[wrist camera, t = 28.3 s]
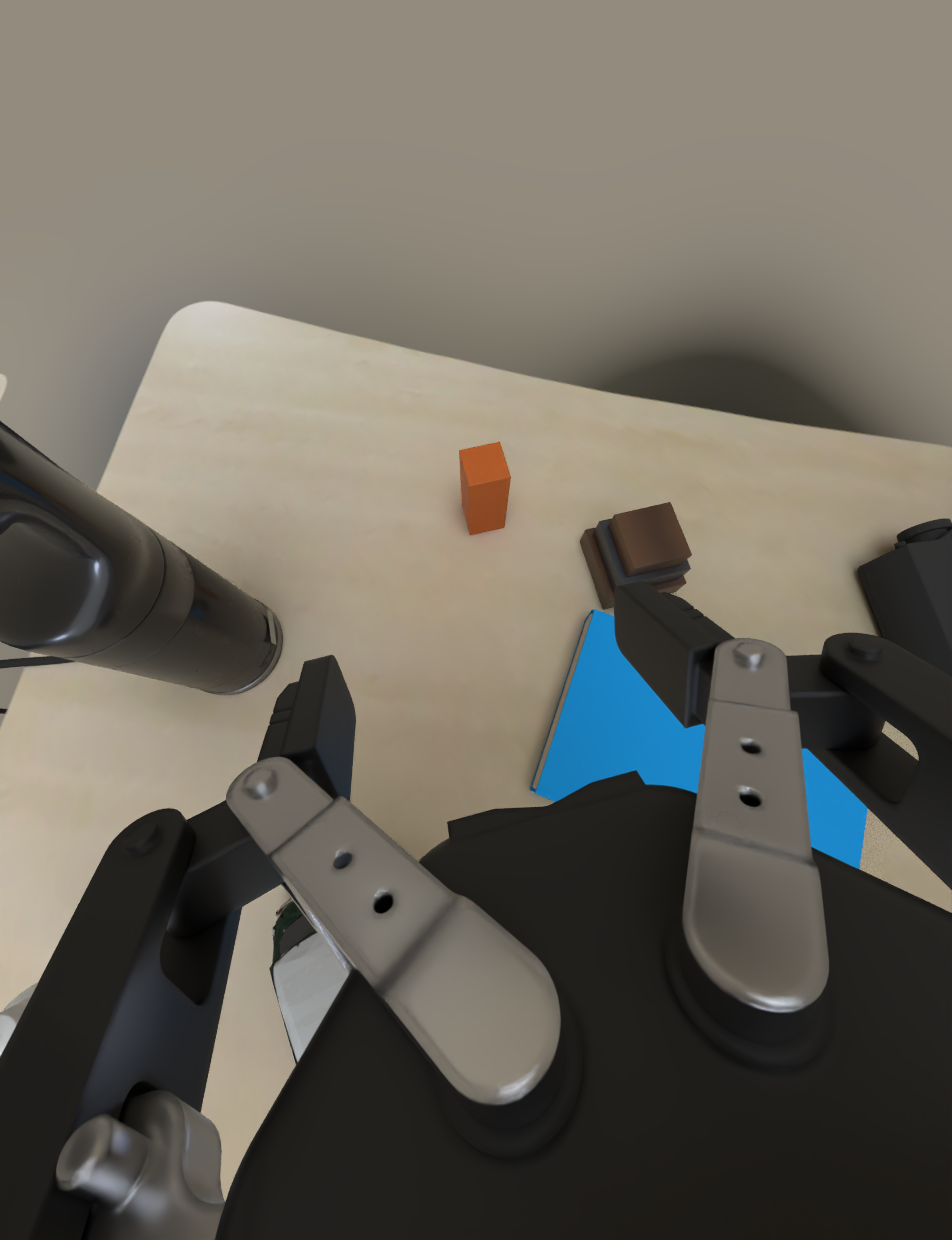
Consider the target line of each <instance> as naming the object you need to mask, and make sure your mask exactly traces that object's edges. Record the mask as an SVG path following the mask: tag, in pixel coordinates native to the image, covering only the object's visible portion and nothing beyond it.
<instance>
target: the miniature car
mask: <svg viewBox="0 0 952 1240" xmlns="http://www.w3.org/2000/svg"><path fill="white" fill-rule="evenodd" d="M285 907H286V908H285ZM284 908H285V909H284ZM283 909H284V910H283ZM282 910H283V911H282ZM281 911H282V912H281ZM277 915H278V916H277ZM276 916H277V917H279V918H278V920H277V921H276V924H275V926H274V927H273V935H272V936H273V940H274V952H273V963H272V966H271V967H270V972H271V977H272V981H273V985H274V988H275V992H276V995H277V999H278V1003H279V1006H280V1010H281V1013H282V1017H283V1021H284V1024H285V1028H286V1031H287V1035H288V1038H289V1042H290V1046H291V1049H292V1052H293V1056H294V1059H295V1062H296V1064H297V1063H298V1061H299V1059H300V1057H301V1056H302V1054H303V1052H304V1051H305V1049H306V1047H307V1045H308V1044H309V1042H310V1040H311V1038H312V1037H313V1035H314V1033H315V1032H316V1030H317V1028H318V1026H319V1025H320V1023H321V1021H322V1020H323V1018H324V1016H325V1014H326V1013H327V1011H328V1009H329V1008H330V1006H331V1004H332V1002H333V1001H334V999H335V997H336V995H337V994H338V992H339V990H340V989H341V987H342V985H343V983H344V982H345V980H346V978H347V977H348V974H347V973H346V972H345V970H344V969H343V967H342V966H341V965H340V963H339V962H338V961H337V959H336V958H335V956H334V955H333V953H332V952H331V951H330V949H329V948H328V946H327V945H326V944H325V942H324V941H323V939H322V938H321V937H320V935H319V934H318V933H317V932H316V930H315V929H314V928H313V926H312V925H311V924H310V922H309V921H308V920H307V918H306V917H305V916H304V914H303V913H302V912H301V910H300V909H299V908H298V906H297V905H296V904H295V903H294V901H293V900H292V899H291V898H290V899H289V900H288V901H287V902H285V903H284V904H283V905H282V906H281V907H280V909H279V910H278V911H277V912H276Z"/></svg>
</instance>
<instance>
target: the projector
mask: <svg viewBox="0 0 952 1240" xmlns="http://www.w3.org/2000/svg"><path fill="white" fill-rule="evenodd" d="M897 540H898V542H899V543H896V544H894V545H895V550H893V551H891V552H889V553H887V554H885V555H883V556H881V557H879V558H876V559H874V560H872V561H870V562H868V563H866V564H864V565H862V566H860V567H859V568H858V573H859V576H860V578H861V581H862V584H863V586H864V589H865V591H866V594H867V596H868V599H869V602H870V604H871V607H872V609H873V612H874V614H875V617H876V620H877V622H878V625H879V627H880V630H881V633H882V635H883V638H884V639H886V640H889V641H891V642H893V643H895V644H897V645H898V646H900V647H902V648H903V649H905V650H907V651H909V652H910V653H912V654H914V655H916V656H917V657H919V658H921V659H922V660H924V661H926V662H928V663H929V664H931V665H933V666H934V667H936V668H938V669H940V670H941V671H943V672H945V673H947V674H948V675H950V676H952V523H951V520H950V519H938V520H933V521H929V522H925V523H922V524H919V525H916V526H914V527H911V528H909V529H906V530H904V531H902V532H901V533H899V534H898V535H897Z"/></svg>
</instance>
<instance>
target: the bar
mask: <svg viewBox="0 0 952 1240" xmlns="http://www.w3.org/2000/svg"><path fill="white" fill-rule="evenodd" d="M459 456H460V475H461V493H462V506H463V510H464V514H465V517H466V521H467V525H468V529H469V532H470V535H473V534H477V533H481V532H486V531H490V530H495V529H499V528H504V526H505V518H506V510H507V502H508V495H509V487H510V479H511V476H510V473H509V470H508V467H507V463H506V460H505V457H504V453H503V450H502V447H501V444H500V442H496V443H492V444H487V445H482V446H478V447H473V448H468V449H463V450H459Z"/></svg>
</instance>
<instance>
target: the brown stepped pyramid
mask: <svg viewBox="0 0 952 1240" xmlns="http://www.w3.org/2000/svg"><path fill="white" fill-rule="evenodd" d="M580 543H581V546H582V549H583V552H584V555H585V558H586V561H587V564H588V567H589V569H590V572H591V575H592V578H593V581H594V584H595V587H596V590H597V593H598V596H599V599H600V602H601V605H602V608H603V609H607V608H611V607H614V589H615V587H616V586H619V585H623V584H627V583H631V582H635V581H639V580H644V581H645V582H647V583H648V584H649V585H650V586H652V587H653V588H654V589H655V590H657V591H658V592H659V593H662V592H666V593H673V592H676V591H677V590H678V589H680V588H681V587H682V586H683V585H685V584H686V581H685V578H684V576H683V575H684V574H685V573H686V572H688V571H689V570H690V569H691V568H690V566H689V563H688V561H687V559H688V558H689V557H690V556H691V555H692V554H691V551H690V549H689V546H688V544H687V542H686V539H685V537H684V534H683V532H682V529H681V527H680V524H679V522H678V520H677V517H676V515H675V512H674V510H673V507H672V505H671V503H670V502H668V503H664V504H660V505H655V506H651V507H647V508H642V509H638V510H633V511H629V512H625V513H620V514H616V515H614V516H613V518H612V519H607V520H603V521H599V523H598V525H597V527H596V528H592V529H587V530H585V532H584V534H583V536H582V538H581V540H580Z"/></svg>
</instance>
